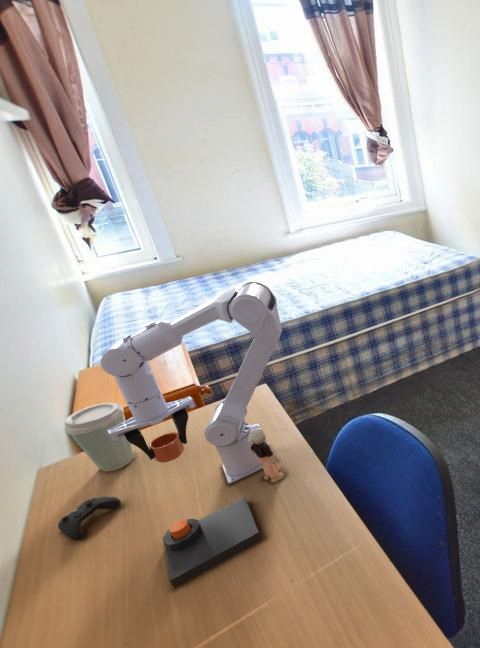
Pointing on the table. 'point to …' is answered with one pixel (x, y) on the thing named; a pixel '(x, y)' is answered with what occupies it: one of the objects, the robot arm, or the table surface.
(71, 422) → the disposable coffee cup
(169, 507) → the table surface
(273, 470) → the grandmother figurine
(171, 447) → the dish
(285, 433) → the table surface
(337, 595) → the table surface
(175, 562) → the grey push button box
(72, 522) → the game controller
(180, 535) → the tare button
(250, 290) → the robot arm
